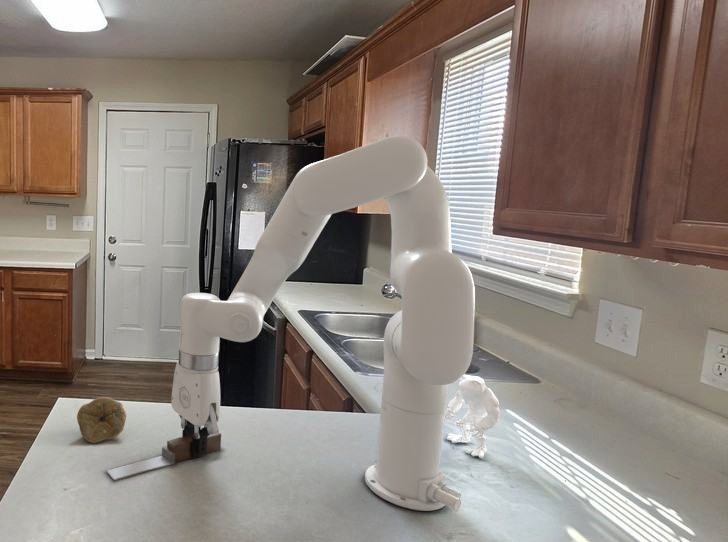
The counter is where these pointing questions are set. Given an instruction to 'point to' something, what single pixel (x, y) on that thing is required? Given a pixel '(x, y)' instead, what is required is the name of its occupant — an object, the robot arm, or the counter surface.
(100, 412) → the fossil
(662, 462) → the counter surface
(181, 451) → the knife
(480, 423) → the figurine
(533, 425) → the counter surface
